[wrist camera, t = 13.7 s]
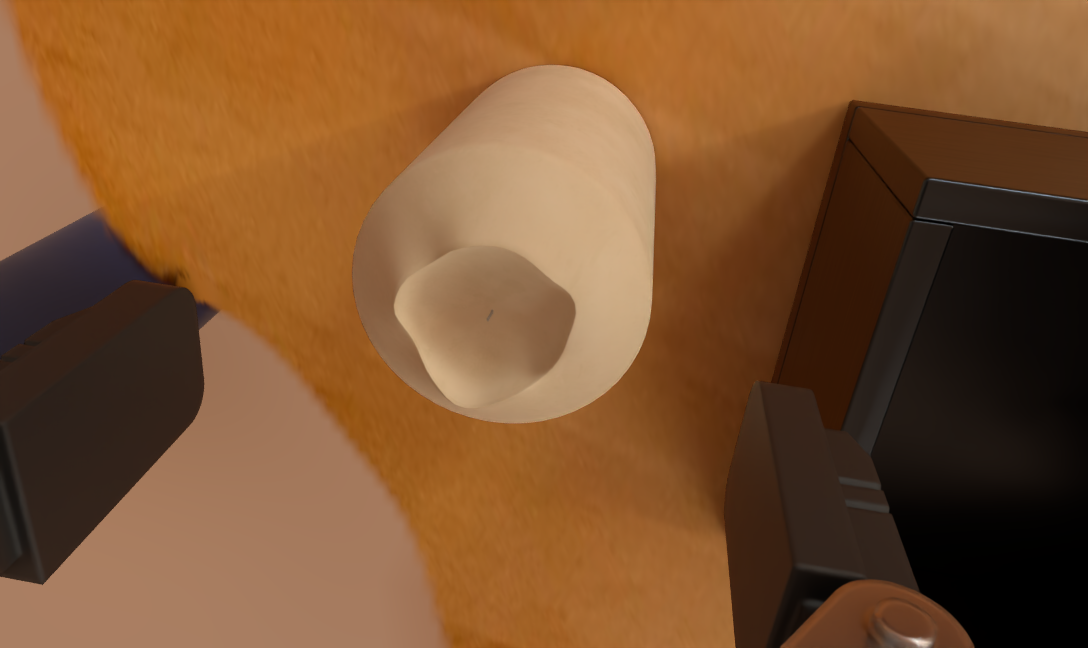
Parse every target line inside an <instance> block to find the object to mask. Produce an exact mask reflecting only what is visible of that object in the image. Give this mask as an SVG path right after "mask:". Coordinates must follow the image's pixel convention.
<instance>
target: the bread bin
mask: <svg viewBox="0 0 1088 648" xmlns="http://www.w3.org/2000/svg"><path fill="white" fill-rule="evenodd" d="M771 383H775V384H781V385H787V386H793V387H800V388H806V389H811V390H812V391H813V393H814V395H815V399H816V402H817V406H818V409H819V413H820V416H821V420H822V423H823V426H824V428H826V429H833V430H839V431H845V432H848V433H849V434H850V435H851V437H852V438H853V439H854V440H855V441H856V442H857V443H858V444H859V445H860V446H861V447H862V448H863V449H864V450H865V452H866V453H867V454H868V455H869V456H870V457H871V458H872V461H873V463H874V466H875V469H876V472H877V475H878V477H879V480H880V483H881V490H882V491H884V494H885V497H886V500H887V502H888V505H889V514H892V516H893V519H894V522H895V525H896V527H897V530H898V533H899V536H900V538H901V541H902V544H903V547H904V550H905V552H906V555H907V558H908V561H909V563H910V566H911V569H912V572H913V575H914V577H915V580H916V583H917V586H918V588H919V591H920V593H921V594H923V595H924V596H926V597H928V598H930V599H931V600H933V601H934V602H936V603H937V604H939V605H940V606H941V607H943V608H944V609H945V610H946V611H947V612H949V613H950V614H951V615H952V616H953V617H954V618H955V619H956V620H957V621H958V622H959V623H960V625H961V626H962V627H963V628H964V630H965V631H966V632H967V634H968V636H969V637H970V639H971V641H972V643H973V645H974V648H1088V132H1082V131H1075V130H1067V129H1060V128H1053V127H1045V126H1038V125H1031V124H1023V123H1016V122H1009V121H1002V120H994V119H987V118H980V117H972V116H965V115H958V114H950V113H943V112H936V111H928V110H921V109H914V108H906V107H899V106H892V105H884V104H877V103H870V102H862V101H855V100H852V101H850V103H849V106H848V110H847V113H846V117H845V120H844V124H843V128H842V131H841V135H840V138H839V142H838V145H837V149H836V153H835V156H834V160H833V163H832V167H831V171H830V174H829V178H828V181H827V185H826V188H825V192H824V196H823V199H822V203H821V206H820V210H819V214H818V217H817V221H816V224H815V228H814V231H813V235H812V239H811V242H810V246H809V249H808V253H807V257H806V260H805V264H804V267H803V271H802V274H801V278H800V282H799V285H798V289H797V292H796V296H795V300H794V303H793V307H792V310H791V314H790V317H789V321H788V325H787V328H786V332H785V335H784V339H783V343H782V346H781V350H780V353H779V357H778V360H777V364H776V368H775V371H774V375H773V378H772V382H771Z"/></svg>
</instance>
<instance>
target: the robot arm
mask: <svg viewBox="0 0 1088 648" xmlns="http://www.w3.org/2000/svg"><path fill="white" fill-rule="evenodd" d="M203 392H204V376H203V367H202V357H201V348H200V338H199V328H198V319H197V310H196V303H195V299H194V297H193V295H192V293H191V292H190V291H189V290H188V289H186V288H183V287H177V286H170V285H164V284H158V283H152V282H145V281H139V280H132V281H129V282H127V283H126V284H124V285H123V286H121V287H120V288H118V289H117V290H115V291H114V292H113V293H111V294H110V295H108V296H107V297H105V298H104V299H103V300H101V301H100V302H98V303H97V304H95V305H94V306H93V307H90V308H87V309H84V310H82V311H79V312H76V313H73V314H71V315H68V316H65V317H63V318H60V319H57V320H55V321H52V322H51V323H49V324H48V325H46V326H45V327H43V328H42V329H41V330H39V331H38V332H36V333H35V334H33V335H32V336H30V337H29V338H27V339H26V340H25V343H24V345H22V344H18V345H17V346H15V347H14V348H12V349H11V350H9V351H8V352H7V353H5V354H4V355H2V358H1V360H0V577H5V578H11V579H16V580H21V581H27V582H32V583H37V584H42V585H43V584H44V583H45V582H46V581H47V580H48V578H49V577H50V576H51V575H52V574H53V573H54V572H55V571H56V570H57V569H58V568H59V567H60V565H61V564H62V563H63V562H64V561H65V560H66V559H67V558H68V557H69V556H70V555H71V553H72V552H73V551H74V550H75V549H76V548H77V547H78V546H79V545H80V544H81V543H82V542H83V540H84V539H85V538H86V537H87V536H88V535H89V534H90V533H91V532H92V531H93V530H94V528H95V527H96V526H97V525H98V524H99V523H100V522H101V521H102V520H103V519H104V517H106V515H107V514H108V513H109V512H110V511H111V510H112V509H113V508H114V507H115V506H116V505H117V504H118V503H119V501H120V500H121V499H122V498H123V497H124V496H125V495H126V494H127V493H128V492H129V491H130V489H131V488H132V487H133V486H134V485H135V484H136V483H137V482H138V481H139V480H140V479H141V478H142V476H143V475H144V474H145V473H146V472H147V471H148V470H149V469H150V468H151V467H152V466H153V464H154V463H155V462H156V461H157V460H158V459H159V458H160V457H161V456H162V455H163V454H164V453H165V451H166V450H167V449H168V448H169V447H170V446H171V445H172V444H173V443H174V442H175V441H176V440H177V439H178V437H179V436H180V435H181V434H182V433H183V432H184V431H185V430H186V428H188V427H189V425H190V424H191V423H192V422H193V420H194V419H195V417H196V415H197V413H198V411H199V408H200V406H201V402H202V398H203ZM724 518H725V530H726V542H727V553H728V565H729V577H730V588H731V600H732V611H733V623H734V635H735V646H736V648H974V645H973V643H972V641H971V639H970V637H969V636H968V634H967V632H966V631H965V630H964V628H963V627H962V626H961V625H960V623H959V622H958V621H957V620H956V619H955V618H954V617H953V616H952V615H951V614H950V613H949V612H947V611H946V610H945V609H944V608H943V607H941V606H940V605H939V604H937V603H936V602H934V601H933V600H931V599H930V598H928V597H926V596H924V595H923V594H921V593H920V591H919V588H918V586H917V583H916V580H915V577H914V575H913V572H912V569H911V566H910V563H909V561H908V558H907V555H906V552H905V550H904V547H903V544H902V541H901V538H900V536H899V533H898V530H897V527H896V525H895V522H894V519H893V516H892V514H889V505H888V502H887V500H886V497H885V494H884V491H882V490H881V483H880V480H879V477H878V475H877V472H876V469H875V466H874V463H873V461H872V458H871V457H870V456H869V455H868V454H867V453H866V452H865V450H864V449H863V448H862V447H861V446H860V445H859V444H858V443H857V442H856V441H855V440H854V439H853V438H852V437H851V435H850V434H849V433H848V432H845V431H839V430H833V429H826V428H824V426H823V423H822V420H821V416H820V413H819V409H818V406H817V402H816V399H815V395H814V393H813V391H812V390H811V389H806V388H800V387H793V386H787V385H781V384H775V383H768V382H762V381H756V382H755V383H754V384H753V386H752V389H751V392H750V395H749V398H748V402H747V406H746V409H745V413H744V417H743V421H742V425H741V428H740V432H739V436H738V440H737V444H736V447H735V451H734V455H733V459H732V463H731V466H730V470H729V474H728V479H727V485H726V493H725V505H724Z"/></svg>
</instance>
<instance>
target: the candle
mask: <svg viewBox="0 0 1088 648" xmlns="http://www.w3.org/2000/svg"><path fill="white" fill-rule="evenodd" d="M655 197H656V163H655V153H654V147H653V143H652V140H651V136H650V133H649V131H648V128H647V126H646V124H645V122H644V120H643V118H642V117H641V115H640V113H639V112H638V110H637V109H636V107H635V106H634V105H633V104H632V103H631V101H630V100H629V99H628V98H627V97H626V96H625V95H624V94H623V93H622V92H621V91H620V90H619V89H618V88H617V87H615V86H614V85H612V84H611V83H609V82H608V81H607V80H605V79H603V78H601V77H599V76H597V75H595V74H594V73H591V72H588V71H585V70H583V69H580V68H575V67H570V66H563V65H541V66H534V67H529V68H524V69H521V70H519V71H516V72H513V73H510V74H509V75H507V76H505V77H503V78H501V79H499V80H498V81H496V82H495V83H493V84H492V85H491V86H489V87H488V88H487V89H486V90H484V91H483V92H482V93H481V94H480V95H479V96H478V97H477V98H476V99H475V100H474V101H473V102H472V103H471V104H470V105H469V106H468V107H467V108H466V109H465V110H464V111H463V112H462V113H461V114H460V115H459V116H458V117H457V118H456V119H455V120H454V121H453V122H452V123H451V124H450V125H449V126H448V127H447V128H446V129H445V130H444V131H443V132H442V133H441V134H440V135H439V136H438V137H437V138H436V139H435V140H433V141H432V142H431V143H430V144H429V145H428V146H427V147H426V148H425V149H424V150H423V151H422V152H421V153H420V154H419V155H418V156H417V157H416V158H415V159H414V160H413V161H412V162H411V163H410V164H409V165H408V166H407V167H406V168H405V169H404V170H403V171H402V172H401V173H400V174H399V175H398V176H397V177H396V178H395V179H394V180H393V182H392V183H391V184H390V185H389V186H388V187H387V188H386V189H385V190H384V191H383V192H382V193H381V195H380V196H379V197H378V198H377V200H376V201H375V202H374V204H373V205H372V207H371V208H370V210H369V212H368V214H367V216H366V217H365V219H364V221H363V224H362V226H361V229H360V232H359V234H358V237H357V241H356V245H355V250H354V255H353V267H352V279H353V292H354V297H355V301H356V306H357V310H358V313H359V316H360V319H361V322H362V324H363V327H364V329H365V331H366V333H367V335H368V337H369V339H370V341H371V343H372V344H373V346H374V347H375V349H376V350H377V352H378V353H379V355H380V356H381V358H382V359H383V360H384V361H385V362H386V364H387V365H388V366H389V367H390V368H391V369H392V371H393V372H394V373H395V374H397V375H398V376H399V377H400V378H401V379H402V380H403V381H404V382H405V383H406V384H407V385H409V386H410V387H411V388H413V389H414V390H415V391H417V392H418V393H419V394H421V395H422V396H424V397H426V398H427V399H429V400H431V401H432V402H434V403H436V404H438V405H440V406H442V407H444V408H446V409H448V410H451V411H453V412H456V413H459V414H462V415H465V416H467V417H471V418H475V419H480V420H484V421H490V422H499V423H530V422H539V421H544V420H549V419H553V418H557V417H560V416H563V415H566V414H569V413H571V412H574V411H576V410H578V409H580V408H582V407H584V406H586V405H588V404H590V403H592V402H593V401H594V400H596V399H597V398H599V397H600V396H602V395H603V394H605V393H606V392H607V391H608V390H609V389H610V388H611V387H612V386H613V385H615V384H616V383H617V382H618V381H619V380H620V378H621V377H622V376H623V375H624V374H625V372H626V371H627V370H628V369H629V367H630V366H631V364H632V362H633V361H634V359H635V358H636V356H637V354H638V353H639V350H640V348H641V346H642V343H643V341H644V339H645V336H646V332H647V328H648V325H649V321H650V314H651V305H652V288H653V258H654V228H655Z"/></svg>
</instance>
